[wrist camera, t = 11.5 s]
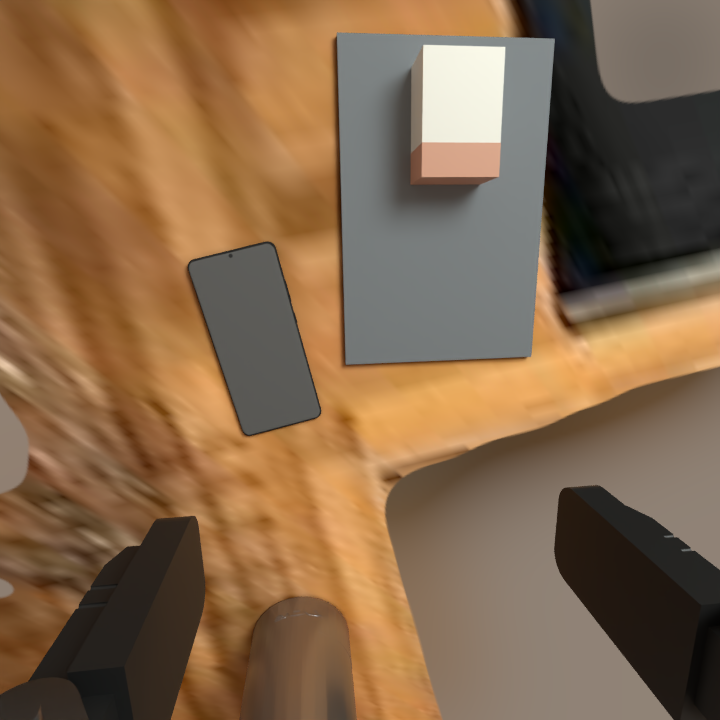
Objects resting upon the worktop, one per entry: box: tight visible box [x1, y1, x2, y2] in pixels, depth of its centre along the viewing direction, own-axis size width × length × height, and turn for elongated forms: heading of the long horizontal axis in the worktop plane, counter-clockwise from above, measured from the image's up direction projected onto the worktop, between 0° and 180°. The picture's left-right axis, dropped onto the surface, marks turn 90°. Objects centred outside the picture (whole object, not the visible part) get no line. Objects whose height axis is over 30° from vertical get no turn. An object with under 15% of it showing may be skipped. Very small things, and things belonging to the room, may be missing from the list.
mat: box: [337, 33, 555, 365], centre depth 35 cm, size 24×16×1 cm, turn 1°
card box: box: [410, 45, 505, 185], centre depth 32 cm, size 8×6×4 cm
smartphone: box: [188, 242, 321, 436], centre depth 36 cm, size 7×1×15 cm
